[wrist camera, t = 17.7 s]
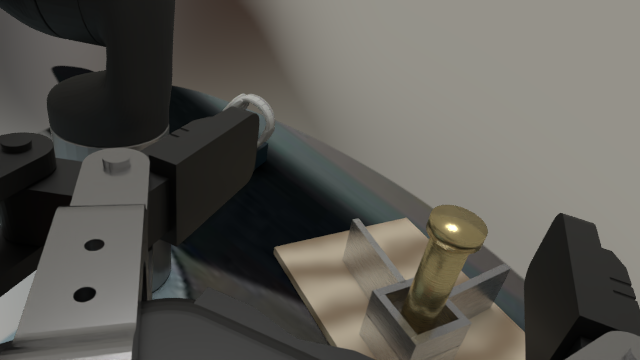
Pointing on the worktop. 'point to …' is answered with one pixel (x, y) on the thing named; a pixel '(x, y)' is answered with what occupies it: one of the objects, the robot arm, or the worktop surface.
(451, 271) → the hinge pin
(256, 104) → the watch
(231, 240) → the worktop surface
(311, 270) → the board
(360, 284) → the hinge
